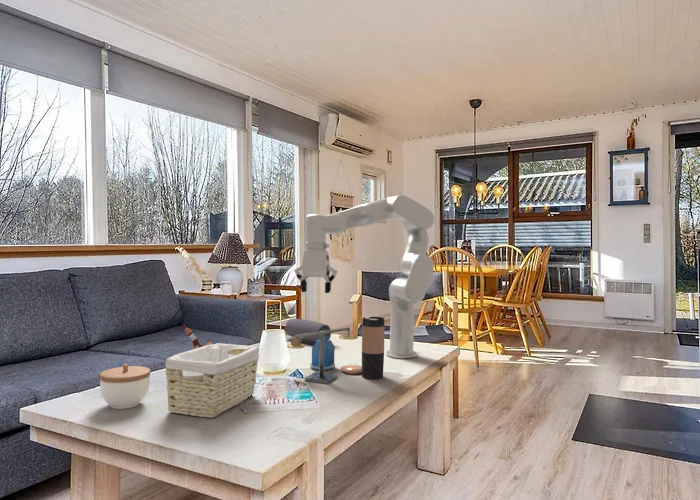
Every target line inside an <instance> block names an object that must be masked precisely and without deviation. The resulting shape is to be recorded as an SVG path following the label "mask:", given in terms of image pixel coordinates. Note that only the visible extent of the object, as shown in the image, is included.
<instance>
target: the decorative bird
mask: <svg viewBox="0 0 700 500" xmlns="http://www.w3.org/2000/svg"><path fill="white" fill-rule="evenodd" d="M182 328H183V329H184V333H185V334H186V335H187V336H188V337H189V339H190V341H191V342H192V346H193V350H194V349H197V348H200V347H204V346H207V345H212V344H213V343H212V341H211V340H210V339H207V340H206V341H207V343H205V345H204V344H203V345H202V344H201V343H200V342H199V340H198V338H197V336H196V335H195V334H194V333H193V330H192V329H191V328H189V327H187V326H186V325H185V324H183V326H182Z"/></svg>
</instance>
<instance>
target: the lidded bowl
mask: <svg viewBox="0 0 700 500" xmlns="http://www.w3.org/2000/svg"><path fill="white" fill-rule="evenodd" d="M150 375H151V369H150V368H149V367H146V366H140V365H129V364H128V363H126V364H125V363H124V364H123V366H119V367H113V368H109V369H106V370H103V371H102V372H100V373H99V379H100V381H99V382H100V383H99V385H100V394H101V396H102V398H103V400H104V402H106V404H108V405H109V406H110V408H112V409H115V410H126V409H131V408H134V407H136V406H137V407H138V406H139V405H140V403H141V402H142V401H143V399H144V398H145V397H146V396H147V395H148V391H149V388H150V383H151V382H150V380H151V376H150Z"/></svg>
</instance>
